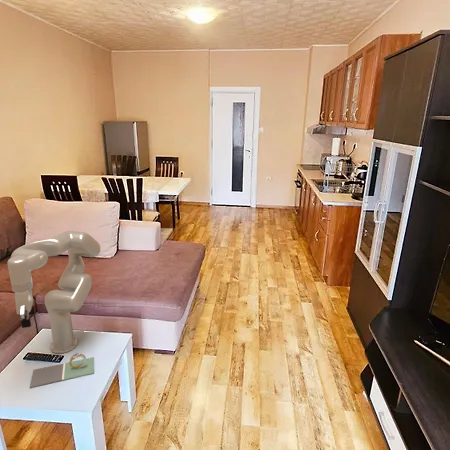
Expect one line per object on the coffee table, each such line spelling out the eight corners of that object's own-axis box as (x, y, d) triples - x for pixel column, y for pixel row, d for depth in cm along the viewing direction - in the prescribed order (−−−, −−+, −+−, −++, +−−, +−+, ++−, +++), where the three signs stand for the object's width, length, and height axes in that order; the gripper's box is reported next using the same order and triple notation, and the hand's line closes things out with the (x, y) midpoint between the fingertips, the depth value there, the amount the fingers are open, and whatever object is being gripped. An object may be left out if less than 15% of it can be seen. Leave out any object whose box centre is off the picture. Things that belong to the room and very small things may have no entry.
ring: (87, 364, 155) (85, 350, 153) (86, 369, 152) (84, 355, 150) (71, 366, 154) (69, 352, 151) (69, 371, 151) (68, 357, 148)
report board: (33, 370, 151) (33, 369, 151) (93, 358, 160) (93, 356, 160) (29, 388, 141) (29, 387, 141) (94, 373, 151) (93, 372, 150)
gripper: (16, 277, 142) (22, 311, 147) (7, 296, 127) (14, 334, 132) (35, 274, 145) (41, 308, 150) (29, 293, 129) (35, 330, 135)
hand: (28, 320), depth 141 cm, fingers open, 9 cm apart
